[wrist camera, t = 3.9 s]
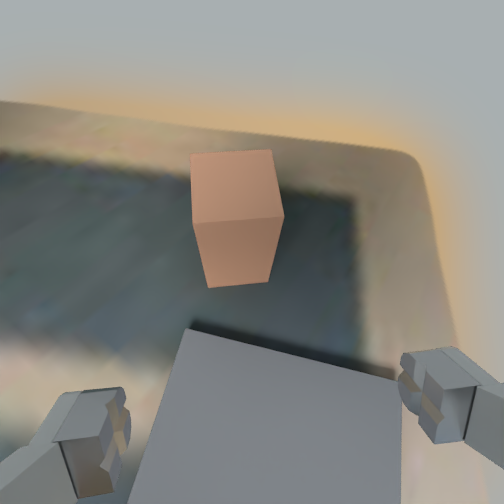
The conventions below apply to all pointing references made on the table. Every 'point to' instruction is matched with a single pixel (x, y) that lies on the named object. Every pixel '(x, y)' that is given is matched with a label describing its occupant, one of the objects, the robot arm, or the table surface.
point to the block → (236, 215)
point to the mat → (269, 431)
